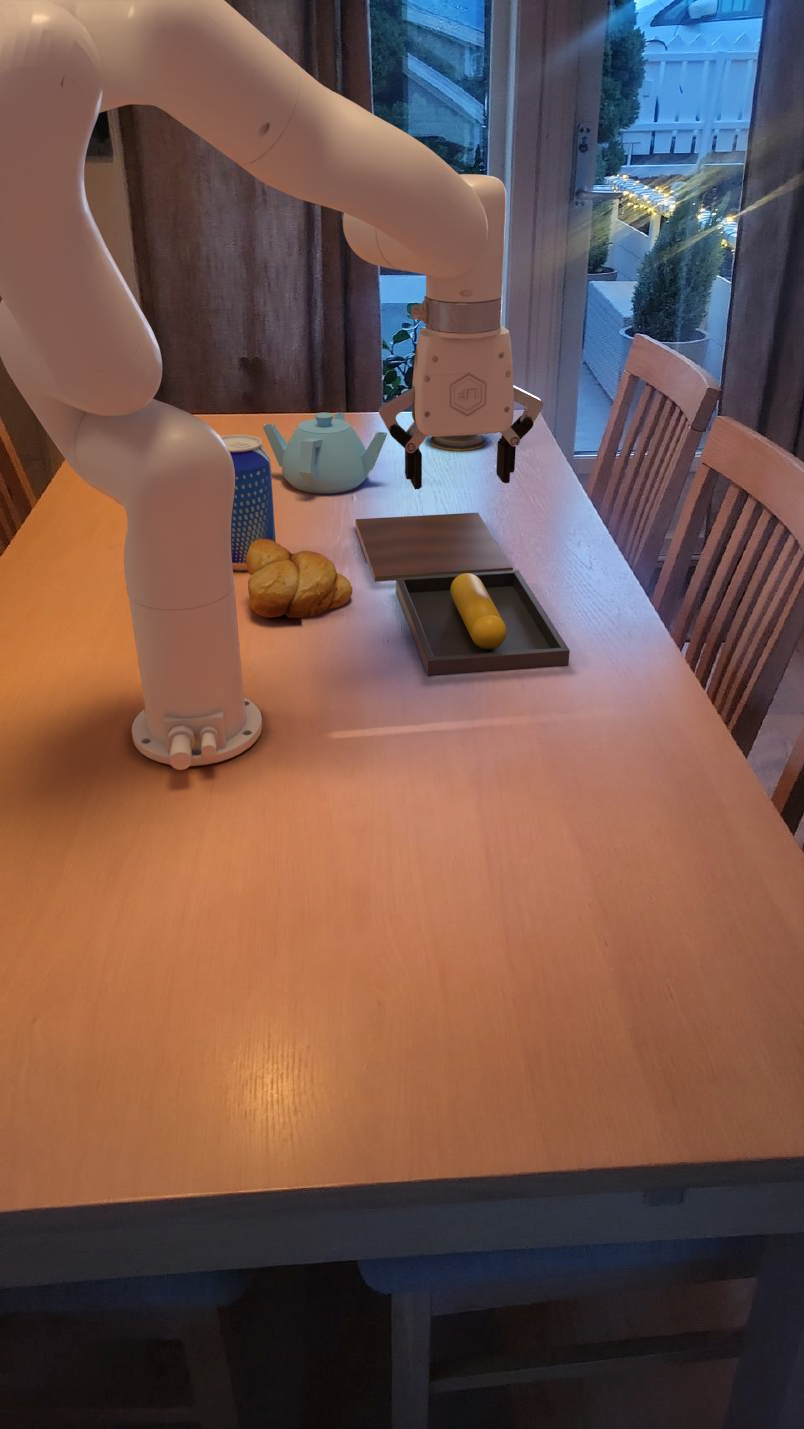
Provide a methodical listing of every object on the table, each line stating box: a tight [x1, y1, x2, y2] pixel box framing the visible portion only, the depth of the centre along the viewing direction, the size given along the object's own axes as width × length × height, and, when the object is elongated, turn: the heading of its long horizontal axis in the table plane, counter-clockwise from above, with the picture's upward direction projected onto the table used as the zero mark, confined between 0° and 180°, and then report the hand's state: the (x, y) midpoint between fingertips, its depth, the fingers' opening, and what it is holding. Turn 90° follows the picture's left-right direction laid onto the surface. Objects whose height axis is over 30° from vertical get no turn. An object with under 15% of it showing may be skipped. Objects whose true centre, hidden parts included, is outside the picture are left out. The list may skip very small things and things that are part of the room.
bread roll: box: [246, 538, 353, 619], centre depth 123 cm, size 13×10×8 cm
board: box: [354, 512, 514, 582], centre depth 140 cm, size 20×18×2 cm
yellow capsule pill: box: [450, 573, 506, 649], centre depth 119 cm, size 15×4×4 cm, turn 9°
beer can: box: [220, 434, 277, 571], centre depth 133 cm, size 8×8×16 cm
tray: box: [395, 569, 571, 677], centre depth 119 cm, size 22×16×3 cm
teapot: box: [262, 412, 388, 495], centre depth 162 cm, size 15×15×11 cm
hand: (459, 482), depth 111 cm, fingers open, 9 cm apart
